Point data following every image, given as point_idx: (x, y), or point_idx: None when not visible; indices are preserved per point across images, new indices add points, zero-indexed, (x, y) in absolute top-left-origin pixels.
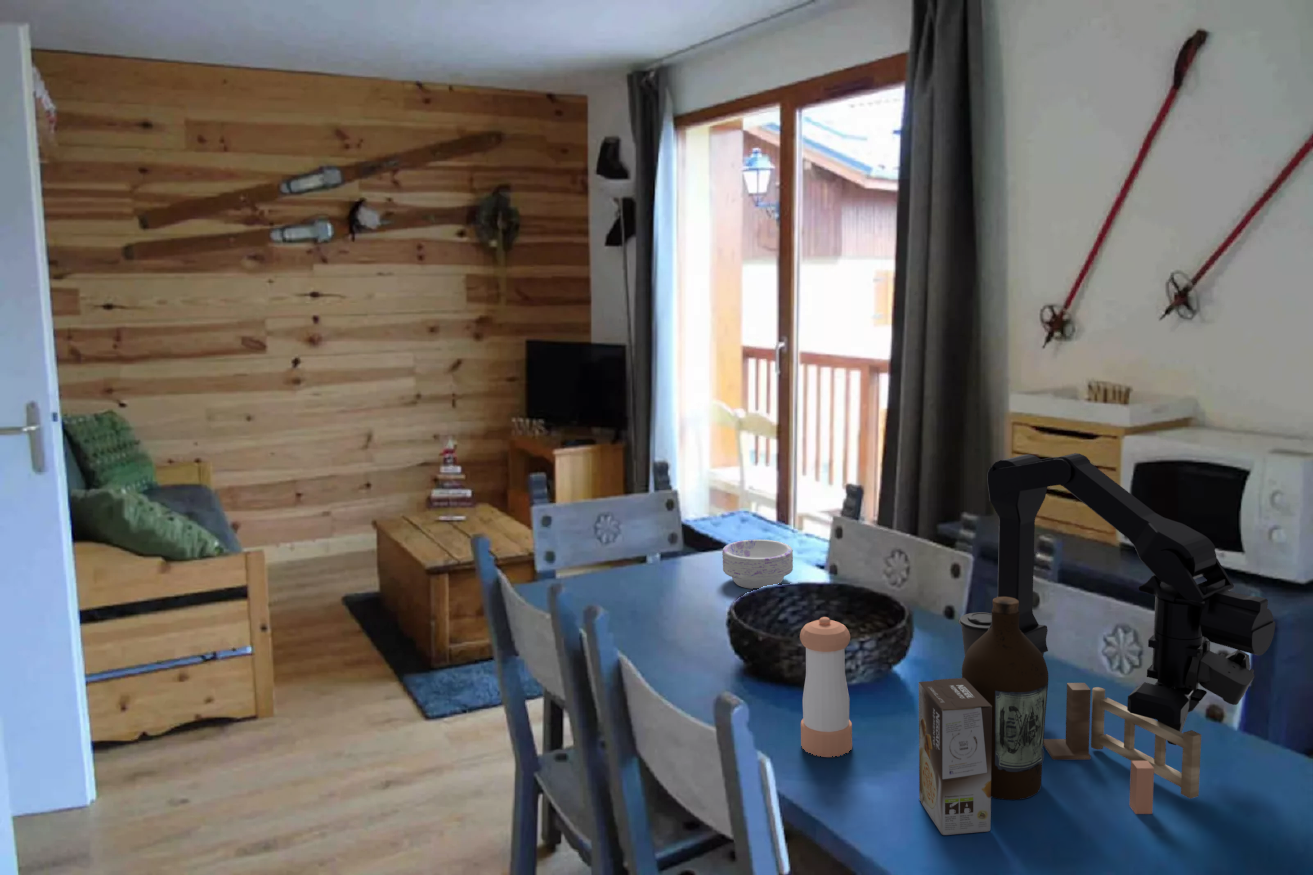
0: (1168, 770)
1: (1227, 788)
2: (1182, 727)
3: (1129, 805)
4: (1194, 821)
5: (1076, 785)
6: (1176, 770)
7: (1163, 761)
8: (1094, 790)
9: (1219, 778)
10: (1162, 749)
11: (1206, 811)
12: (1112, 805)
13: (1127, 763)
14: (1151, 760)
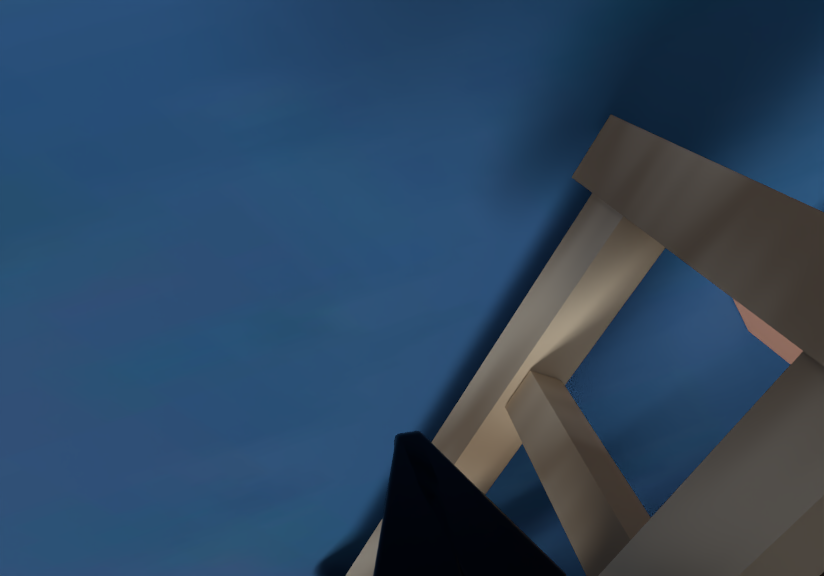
0: (591, 332)
1: (296, 3)
2: (435, 547)
3: (749, 331)
4: (810, 57)
5: (652, 503)
6: (570, 300)
7: (551, 390)
8: (666, 456)
9: (181, 92)
10: (604, 459)
11: (677, 34)
12: (762, 372)
13: (356, 477)
14: (509, 434)
